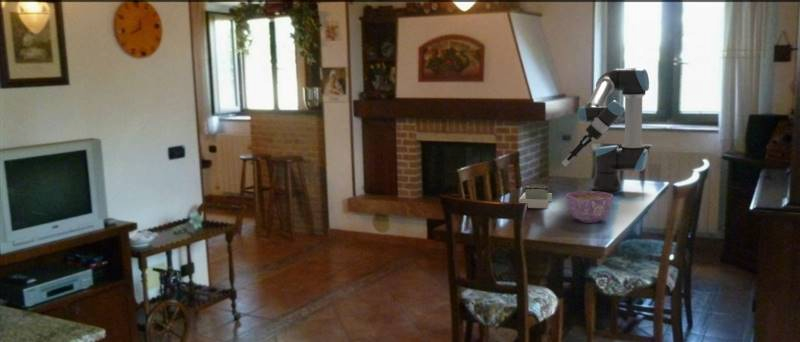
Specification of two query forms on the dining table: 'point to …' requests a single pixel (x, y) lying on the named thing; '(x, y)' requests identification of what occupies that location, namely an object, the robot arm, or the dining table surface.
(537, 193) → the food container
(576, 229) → the dining table surface
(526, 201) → the frame
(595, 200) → the bowl of food
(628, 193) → the dining table surface
